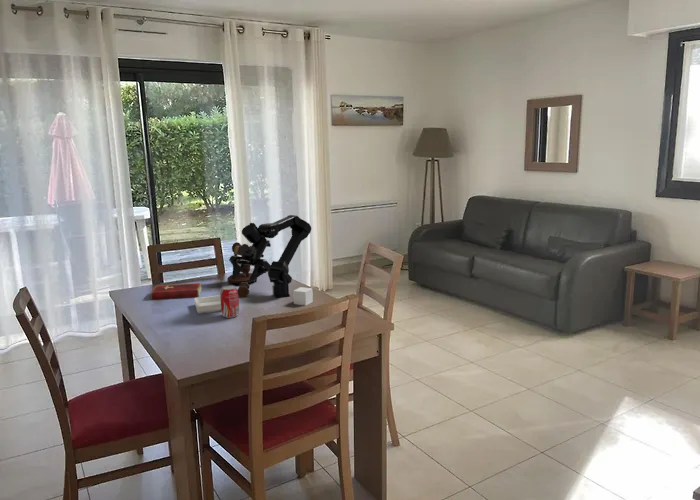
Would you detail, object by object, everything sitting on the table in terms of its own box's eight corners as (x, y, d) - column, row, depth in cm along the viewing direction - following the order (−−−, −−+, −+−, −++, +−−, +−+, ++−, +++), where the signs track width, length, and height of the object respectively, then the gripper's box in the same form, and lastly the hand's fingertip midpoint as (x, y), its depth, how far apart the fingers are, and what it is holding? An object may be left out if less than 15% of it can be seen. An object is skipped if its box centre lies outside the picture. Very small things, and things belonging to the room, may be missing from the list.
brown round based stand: (263, 281, 268) (261, 242, 264) (238, 287, 257) (236, 247, 253) (246, 277, 278) (243, 239, 274) (221, 282, 267) (219, 243, 263)
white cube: (312, 301, 232) (312, 288, 231) (305, 305, 227) (305, 292, 226) (301, 300, 235) (300, 287, 234) (293, 304, 229) (293, 290, 228)
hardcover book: (198, 298, 243) (198, 289, 242) (151, 300, 240) (150, 291, 239) (202, 291, 255) (201, 282, 254) (156, 293, 252) (155, 284, 251)
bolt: (246, 292, 256) (245, 300, 241) (237, 287, 255) (234, 295, 240) (252, 281, 255) (250, 289, 241) (242, 277, 254) (240, 284, 240)
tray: (232, 300, 237) (231, 293, 236) (237, 309, 224) (236, 302, 223) (194, 304, 231) (194, 298, 230) (198, 314, 218) (197, 307, 217)
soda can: (223, 313, 218) (221, 285, 216) (240, 312, 219) (238, 284, 216) (220, 319, 211) (218, 290, 209) (238, 318, 212) (236, 289, 209)
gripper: (230, 236, 224) (213, 267, 217) (265, 240, 215) (248, 272, 208) (244, 251, 233) (228, 281, 225) (278, 255, 223) (262, 287, 216)
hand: (241, 280), depth 218 cm, fingers open, 9 cm apart
